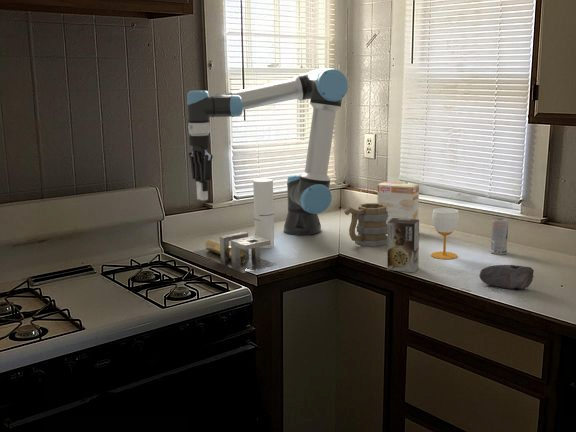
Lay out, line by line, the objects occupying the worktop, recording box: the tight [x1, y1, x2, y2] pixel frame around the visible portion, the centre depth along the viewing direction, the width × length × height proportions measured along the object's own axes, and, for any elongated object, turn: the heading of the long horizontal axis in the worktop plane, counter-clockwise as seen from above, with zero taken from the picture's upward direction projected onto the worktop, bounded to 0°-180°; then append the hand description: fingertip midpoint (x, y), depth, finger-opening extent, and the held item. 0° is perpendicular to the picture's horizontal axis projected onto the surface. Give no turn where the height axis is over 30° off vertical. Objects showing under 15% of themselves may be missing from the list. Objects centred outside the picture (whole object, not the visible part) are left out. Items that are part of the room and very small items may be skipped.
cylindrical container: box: [252, 178, 275, 249], centre depth 235 cm, size 7×7×25 cm
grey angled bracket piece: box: [219, 231, 250, 262], centre depth 220 cm, size 10×2×8 cm, turn 128°
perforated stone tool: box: [479, 264, 535, 290], centre depth 187 cm, size 15×5×7 cm, turn 61°
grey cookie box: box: [386, 218, 420, 273], centre depth 206 cm, size 9×6×16 cm
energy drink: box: [490, 217, 509, 256], centre depth 222 cm, size 5×5×12 cm
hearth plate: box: [193, 248, 278, 274], centre depth 222 cm, size 14×33×1 cm, turn 37°
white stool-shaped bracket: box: [230, 235, 270, 267], centre depth 212 cm, size 10×8×8 cm
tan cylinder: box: [204, 239, 245, 262], centre depth 224 cm, size 20×4×4 cm, turn 38°
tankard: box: [344, 202, 388, 247], centre depth 238 cm, size 20×13×15 cm, turn 124°
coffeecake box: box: [376, 181, 420, 234], centre depth 253 cm, size 15×7×20 cm, turn 58°
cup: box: [430, 207, 460, 260], centre depth 220 cm, size 9×9×16 cm
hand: (202, 199), depth 233 cm, fingers open, 2 cm apart
